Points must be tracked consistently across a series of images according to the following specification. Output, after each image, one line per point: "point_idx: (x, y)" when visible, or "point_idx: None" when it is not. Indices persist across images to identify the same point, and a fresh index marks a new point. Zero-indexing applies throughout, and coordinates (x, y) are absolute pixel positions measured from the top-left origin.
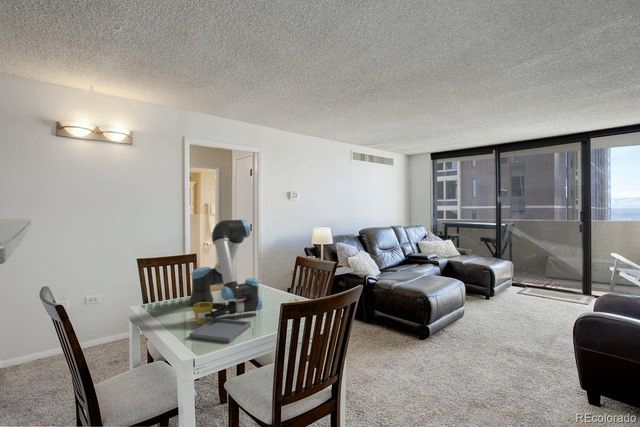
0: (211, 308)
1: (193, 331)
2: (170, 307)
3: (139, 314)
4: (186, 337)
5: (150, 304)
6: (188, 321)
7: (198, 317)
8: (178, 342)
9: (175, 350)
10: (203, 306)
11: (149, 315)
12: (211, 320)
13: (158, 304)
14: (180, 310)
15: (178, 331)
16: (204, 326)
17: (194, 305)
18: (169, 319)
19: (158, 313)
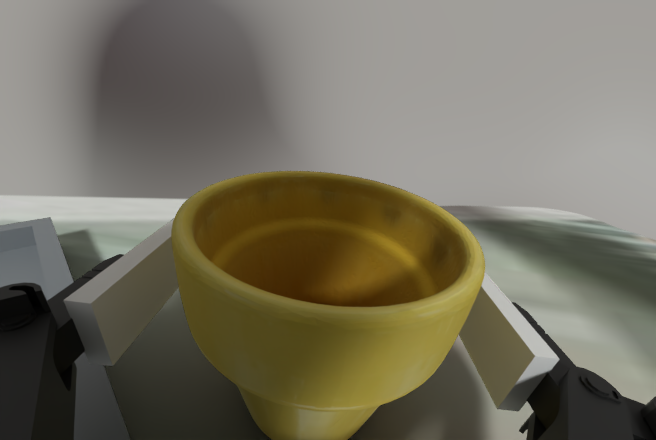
0: (203, 329)
1: (44, 231)
2: (629, 271)
3: (493, 207)
4: (97, 240)
5: (626, 235)
6: None
7: None
8: (82, 215)
9: (9, 197)
10: (438, 286)
11: (484, 217)
12: (103, 412)
13: (646, 249)
14: (599, 295)
15: None
16: None
17: (365, 186)
18: None
19: (514, 233)
